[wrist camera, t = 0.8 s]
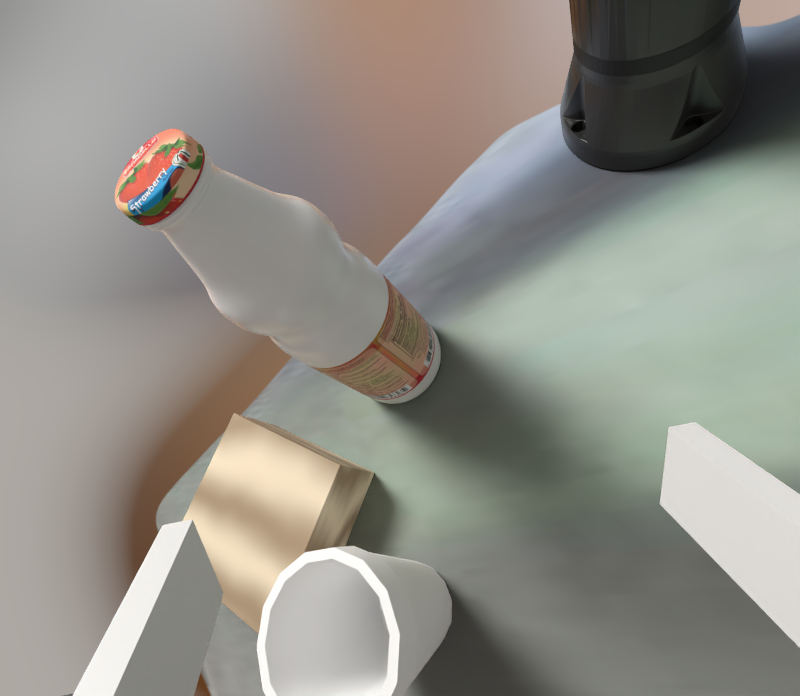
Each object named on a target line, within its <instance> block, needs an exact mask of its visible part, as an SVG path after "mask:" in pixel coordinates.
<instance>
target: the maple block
mask: <svg viewBox="0 0 800 696" xmlns="http://www.w3.org/2000/svg"><path fill="white" fill-rule="evenodd" d="M373 475H374V472H372V471H370V470H368V469H366V468H363V467H361V466H359V465H357V464H355V463H353V462H351V461H349V460H347V459H345V458H342V457H340V456H338V455H336V454H334V453H332V452H330V451H328V450H326V449H323V448H321V447H319V446H317V445H315V444H313V443H311V442H309V441H307V440H305V439H302V438H300V437H298V436H296V435H294V434H292V433H290V432H288V431H286V430H283V429H281V428H279V427H277V426H275V425H272V424H269V423H265V422H262V421H259V420H255V419H252V418H249V417H245V416H242V415H238V414H235V413H234V414H233V416H232V418H231V420H230V423H229V425H228V427H227V429H226V431H225V433H224V435H223V437H222V439H221V441H220V444H219V446H218V448H217V450H216V452H215V454H214V456H213V458H212V460H211V463H210V465H209V467H208V469H207V471H206V473H205V475H204V477H203V479H202V482H201V484H200V486H199V488H198V490H197V492H196V494H195V496H194V498H193V500H192V503H191V505H190V507H189V509H188V511H187V513H186V515H185V517H184V519H183V521H187V520H192V519H193V522H194V524H195V526H196V529H197V531H198V534H199V536H200V538H201V541H202V543H203V545H204V548H205V550H206V553H207V555H208V557H209V560H210V562H211V564H212V567H213V569H214V572H215V574H216V576H217V579H218V581H219V583H220V586H221V588H222V591H223V593H224V594H223V597H222V601H221V602H223V603H224V604H225V605H226V606H227V607H228V608H229V609H231V610H232V611H233V612H234V613H235V614H236V615H237V616H239V617H240V618H241V619H242V620H243V621H244V622H245V623H247V624H248V625H249V626H250V627H251V628H252V629H253V630H255V631H256V632H257V633H258V634H259V629H260V623H261V616H262V610H263V605H264V604H265V602H266V600H267V598H268V596H269V594H270V592H271V590H272V588H273V586H274V584H275V582H276V580H277V578H278V576H279V574H280V573H281V572H282V571H283V570H284V569H286V568H287V567H288V566H289V565H290V564H292V563H293V562H294V561H295V560H296V559H298V558H299V557H300V556H301V555H302V554H303V553H305V552H310V551H316V550H321V549H327V548H333V547H345V546H346V544H347V541H348V538H349V536H350V533H351V531H352V528H353V526H354V523H355V521H356V518H357V516H358V513H359V511H360V508H361V506H362V503H363V501H364V498H365V495H366V493H367V490H368V488H369V485H370V483H371V480H372V478H373Z"/></svg>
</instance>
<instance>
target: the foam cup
mask: <svg viewBox="0 0 800 696" xmlns="http://www.w3.org/2000/svg"><path fill="white" fill-rule="evenodd" d="M451 622H452V599H451V597H450V594H449V591H448V588H447V586H446V583H445V581H444V580H443V579H442V578H441V577H440V575H439V574H438V573H437V572H436V571H435V570H434V569H433V568H432V567H429V566H427V565H424V564H422V563H419V562H416V561H412V560H407V559H402V558H397V557H391V556H386V555H381V554H376V553H371V552H368V551H365V550H363V549H360V548H358V547H356V546H345V547H333V548H327V549H321V550H316V551H310V552H305V553H303V554H302V555H301V556H300V557H299V558H298V559H296V560H295V561H294V562H293V563H292V564H290V565H289V566H288V567H287V568H286V569H284V570H283V571H282V572H281V573H280V574H279V576H278V578H277V580H276V582H275V584H274V586H273V588H272V590H271V592H270V594H269V596H268V598H267V600H266V602H265V604H264V605H263V610H262V616H261V623H260V629H259V636H258V642H257V653H258V660H259V667H260V674H261V681H262V687H263V691H264V693H265V695H266V696H404V694H405V692H406V690H407V689H408V688H409V686H410V685H411V684H412V682H413V681H414V680H415V678H416V677H417V675H418V674H419V673H420V671H421V670H422V669H423V667H424V666H425V665H426V663H427V662H428V661H429V659H430V658H431V656H432V655H433V654H434V652H435V651H436V650H437V648H438V647H439V646H440V644H441V643H442V641H443V640H444V638H445V636H446V633H447V631H448V629H449V627H450V624H451Z"/></svg>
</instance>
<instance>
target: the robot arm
mask: <svg viewBox="0 0 800 696" xmlns="http://www.w3.org/2000/svg"><path fill="white" fill-rule="evenodd" d="M740 1H741V0H569V2H570V13H571V25H572V35H573V46H574V53H573V57H572V61H571V65H570V69H569V73H568V77H567V81H566V85H565V89H564V93H563V97H562V101H561V109H560V116H561V124H562V132H563V137H564V140H565V142H566V144H567V146H568V147H569V149H570V150H571V151H572V152H573V153H574V154H575V155H576V156H577V157H578V158H580V159H581V160H583V161H585V162H587V163H589V164H591V165H594V166H597V167H600V168H604V169H610V170H621V171H631V170H642V169H648V168H653V167H658V166H661V165H665V164H668V163H671V162H674V161H676V160H679V159H681V158H684V157H686V156H688V155H690V154H692V153H694V152H695V151H697V150H699V149H700V148H702V147H704V146H705V145H706V144H708V143H709V142H711V141H712V140H713V139H714V138H715V137H717V136H718V135H719V134H720V133H721V132H722V131H723V130H724V129H725V128H726V127H727V125H728V124H729V123H730V121H731V120H732V119H733V117H734V115H735V114H736V112H737V110H738V107H739V105H740V102H741V99H742V95H743V92H744V88H745V85H746V80H747V73H748V63H747V57H746V51H745V45H744V40H743V34H742V29H741V23H740V17H739V12H738V11H739V6H740ZM660 505H661V506H662V507H663V508H664V509H665V510H666V511H667V512H668V513H669V514H670V515H671V516H672V517H673V518H674V519H675V520H676V521H677V522H678V523H679V524H680V525H681V526H682V527H683V528H684V529H685V530H686V531H687V532H688V533H689V534H690V535H691V537H692V538H693V539H694V540H695V541H696V542H697V543H698V544H699V545H700V546H701V547H702V548H703V549H704V550H705V551H706V552H707V553H708V554H709V555H710V556H711V557H712V558H713V559H714V560H715V561H716V562H717V563H718V564H719V565H720V566H721V567H722V568H723V569H724V570H725V571H726V572H727V574H728V575H729V576H730V577H731V578H732V579H733V580H734V581H735V582H736V583H737V584H738V585H739V586H740V587H741V588H742V589H743V590H744V591H745V592H746V593H747V594H748V595H749V596H750V597H751V598H752V599H753V600H754V601H755V602H756V603H757V604H758V605H759V606H760V607H761V608H762V609H763V611H764V612H765V613H766V614H767V615H768V616H769V617H770V618H771V619H772V620H773V621H774V622H775V623H776V624H777V625H778V626H779V627H780V628H781V629H782V630H783V631H784V632H785V633H786V634H787V635H788V636H789V637H790V638H791V639H792V640H793V641H794V642H795V643H796V644H797V645H798V646H799V647H800V494H798V493H797V492H795V491H794V490H792V489H791V488H790V487H788V486H787V485H785V484H784V483H782V482H781V481H779V480H778V479H777V478H775V477H774V476H772V475H771V474H769V473H768V472H766V471H765V470H764V469H762V468H761V467H759V466H758V465H756V464H755V463H753V462H752V461H750V460H749V459H748V458H746V457H745V456H743V455H742V454H740V453H739V452H737V451H736V450H735V449H733V448H732V447H730V446H729V445H727V444H726V443H724V442H723V441H722V440H720V439H719V438H717V437H716V436H714V435H713V434H711V433H710V432H708V431H707V430H706V429H704V428H703V427H701V426H700V425H698V424H697V423H695V422H692V423H687V424H682V425H677V426H672V427H669V430H668V439H667V447H666V456H665V464H664V472H663V481H662V489H661V498H660ZM223 594H224V593H223V591H222V588H221V586H220V583H219V581H218V579H217V576H216V574H215V572H214V569H213V567H212V564H211V562H210V560H209V557H208V555H207V553H206V550H205V548H204V545H203V543H202V541H201V538H200V536H199V534H198V531H197V529H196V526H195V524H194V522H193V519H192V520H187V521H182V522H177V523H172V524H166V525H163V526H162V528H161V529H160V531H159V533H158V535H157V537H156V539H155V541H154V543H153V545H152V546H151V549H150V550H149V552H148V554H147V556H146V558H145V560H144V562H143V564H142V565H141V567H140V569H139V571H138V573H137V575H136V577H135V579H134V581H133V582H132V584H131V586H130V588H129V590H128V592H127V594H126V596H125V598H124V599H123V602H122V603H121V605H120V607H119V609H118V611H117V613H116V615H115V617H114V618H113V620H112V622H111V624H110V626H109V628H108V630H107V632H106V634H105V635H104V638H103V639H102V641H101V643H100V645H99V647H98V649H97V651H96V652H95V654H94V656H93V658H92V660H91V662H90V664H89V666H88V668H87V670H86V671H85V673H84V675H83V677H82V679H81V681H80V683H79V685H78V687H77V688H76V690H75V692H74V694H69V695H64V696H194V693H195V689H196V686H197V682H198V679H199V675H200V672H201V669H202V665H203V662H204V659H205V655H206V652H207V648H208V645H209V642H210V638H211V635H212V631H213V628H214V625H215V621H216V618H217V614H218V611H219V607H220V604H221V601H222V597H223Z"/></svg>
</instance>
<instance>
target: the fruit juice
mask: <svg viewBox="0 0 800 696" xmlns="http://www.w3.org/2000/svg"><path fill="white" fill-rule="evenodd" d="M115 202H116V205H117V207H118V208H119V209H120V210H121V211H122V212H123V213H124V214H125V215H126V216H128V217H129V218H130V219H131V220H133V221H134V222H136V223H137V224H139V225H143V226H145V227H146V228H147V229H150V230H154V231H162V232H163V233H164V234H165V235H166V237H167V238H168V239H169V240H170V242H171V243H172V244H173V246H174V247H175V248H176V249H177V251H178V252H179V253H180V254H181V255H182V256H183V258H184V259H185V260H186V261H187V263H188V264H189V265H190V267H191V268H192V269H193V270H194V272H195V273H196V274H197V276H198V277H199V278H200V279H201V281H202V282H203V284H204V285H205V287H206V289H207V291H208V293H209V296H210V298H211V300H212V302H213V303H214V305H215V307H216V308H217V309H218V310H219V311H220V312H221V314H222V315H224V316H225V317H226V318H227V319H229V320H230V321H231V322H233V323H234V324H236V325H238V326H239V327H241V328H243V329H245V330H247V331H250V332H253V333H258V334H261V335H268V336H270V337H271V339H272V340H273V341H274V342H275V343H276V345H277V346H279V347H280V348H281V349H282V350H284V351H285V352H286V353H288V354H289V355H291V356H292V357H294V358H295V359H297V360H299V361H300V362H302V363H304V364H306V365H308V366H311V367H313V368H314V369H316V370H318V371H320V372H322V373H324V374H326V375H328V376H330V377H332V378H333V379H335V380H337V381H339V382H341V383H343V384H345V385H347V386H349V387H351V388H353V389H354V390H356V391H358V392H360V393H362V394H364V395H366V396H368V397H370V398H372V399H374V400H376V401H379V402H383V403H388V404H397V403H403V402H407V401H410V400H412V399H414V398H416V397H417V396H419V395H420V394H422V393H423V392H424V391H425V390H426V389H427V388H428V387H429V386H430V384H431V383H432V382H433V380H434V378H435V376H436V374H437V372H438V369H439V366H440V361H441V348H440V343H439V340H438V337H437V335H436V333H435V332H434V330H433V328H432V327H431V326H430V325H429V324H428V322H427V321H426V320H425V319H424V318H423V317H422V316H421V315H420V314H419V313H418V312H417V311H416V309H415V308H414V307H413V306H412V305H411V304H410V303H409V302H408V301H407V300H406V299H405V298H404V297H403V295H402V294H401V293H400V292H399V291H398V290H397V289H396V288H395V287H394V286H393V285H392V284H391V283H390V281H389V280H388V279H387V278H386V277H385V276H384V275H383V274H382V273H381V272H380V270H379V269H378V268H377V267H376V266H375V265H374V264H373V263H372V262H371V261H370V260H369V259H368V258H367V257H366V256H364V255H363V254H362V253H361V252H360V251H358V250H357V249H355V248H354V247H352V246H350V245H348V244H346V243H344V242H342V241H341V239H340V236H339V235H338V232H337V231H336V229H335V227H334V226H333V224H332V223H331V221H330V220H329V219H328V218H327V217H326V216H325V215H324V214H323V213H322V212H321V211H320V210H319V209H318V208H316V207H315V206H314V205H312V204H311V203H309V202H307V201H305V200H303V199H301V198H299V197H295V196H291V195H285V194H278V193H275V192H272V191H270V190H267V189H265V188H262V187H260V186H258V185H255V184H253V183H251V182H248V181H246V180H244V179H242V178H240V177H238V176H235V175H233V174H231V173H228V172H226V171H224V170H221V169H219V168H217V167H216V166H214V165H213V163H212V160H211V158H210V156H209V154H208V153H207V152H206V151H205V150H204V149H203V147H202V146H201V145H200V144H199V143H198V142H197V141H195V140H194V139H193V138H192V137H190V136H189V135H188V134H186V133H185V132H183V131H181V130H178V129H168V130H165V131H163V132H161V133H159V134H157V135H155V136H154V137H152V138H151V139H150V140H148V141H147V142H146V143H145V144H144V145H143V146H142V147H141V148H140V149H139V150H138V151H137V152H136V153H135V154H134V156H133V157H132V158H131V159H130V161H129V162H128V164H127V165H126V167H125V169H124V170H123V172H122V174H121V176H120V178H119V181H118V184H117V186H116V191H115Z"/></svg>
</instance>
